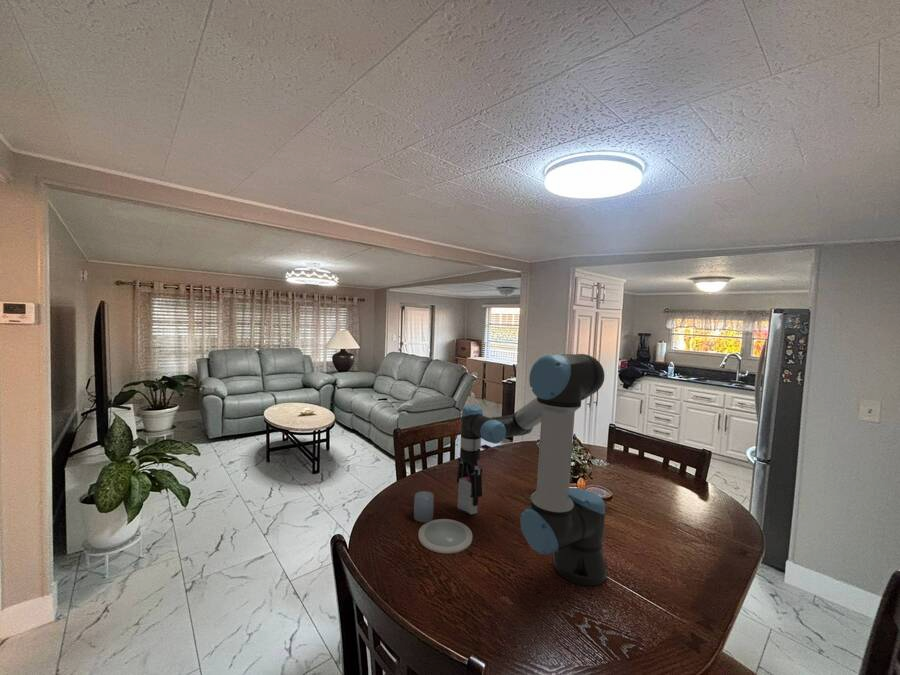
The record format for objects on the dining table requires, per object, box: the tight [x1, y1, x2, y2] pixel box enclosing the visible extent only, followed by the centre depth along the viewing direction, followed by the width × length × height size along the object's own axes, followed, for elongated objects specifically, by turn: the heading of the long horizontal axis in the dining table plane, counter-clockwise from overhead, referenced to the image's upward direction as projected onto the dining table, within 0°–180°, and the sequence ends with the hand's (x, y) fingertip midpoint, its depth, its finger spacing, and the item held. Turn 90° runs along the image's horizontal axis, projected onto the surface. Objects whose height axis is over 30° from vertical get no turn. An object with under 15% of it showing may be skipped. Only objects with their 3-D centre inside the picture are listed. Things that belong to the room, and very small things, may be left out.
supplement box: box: [457, 476, 479, 515], centre depth 140 cm, size 6×6×12 cm
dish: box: [417, 518, 473, 555], centre depth 125 cm, size 18×18×1 cm
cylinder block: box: [413, 490, 435, 523], centre depth 136 cm, size 7×7×8 cm
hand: (467, 508), depth 140 cm, fingers closed on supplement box, 7 cm apart
